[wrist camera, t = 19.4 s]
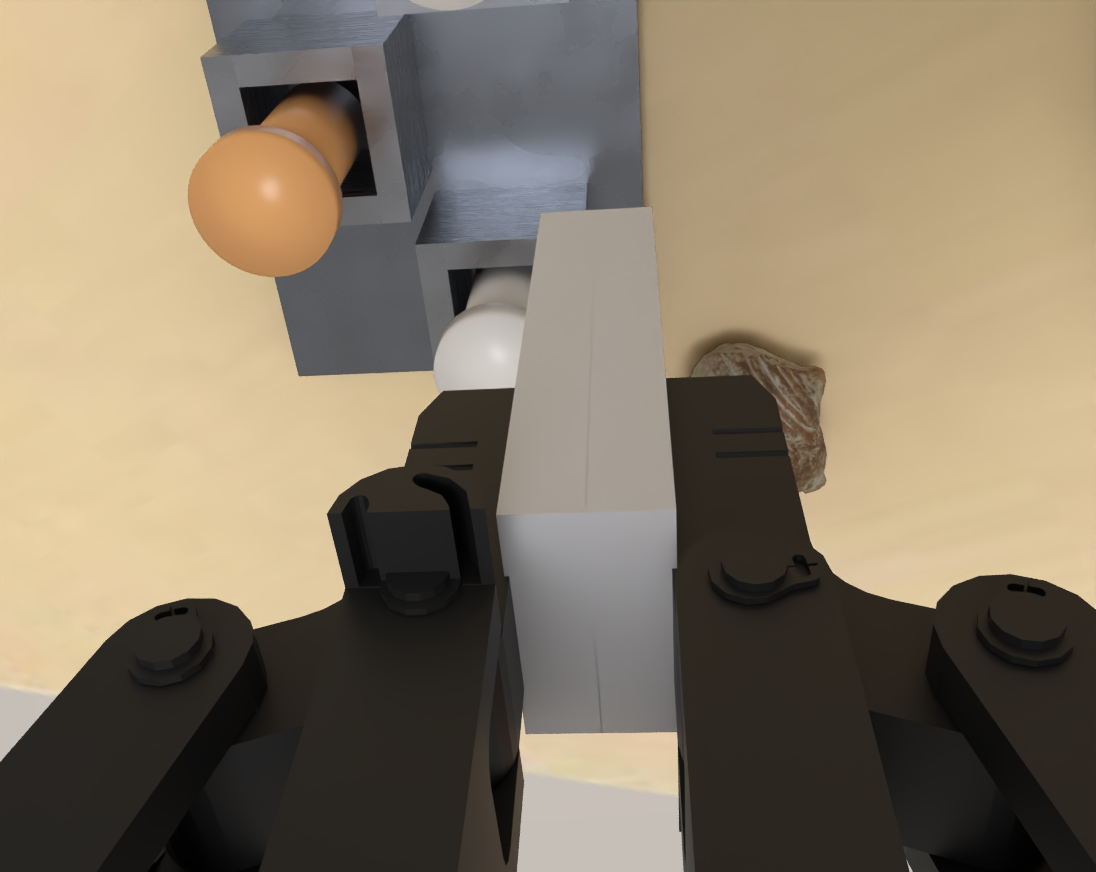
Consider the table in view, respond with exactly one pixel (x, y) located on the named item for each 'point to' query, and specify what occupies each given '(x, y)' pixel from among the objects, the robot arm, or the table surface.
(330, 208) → the plug terracotta
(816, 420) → the seashell
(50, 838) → the robot arm
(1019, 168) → the table surface
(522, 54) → the gray socket stand
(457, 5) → the plug
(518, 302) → the plug
